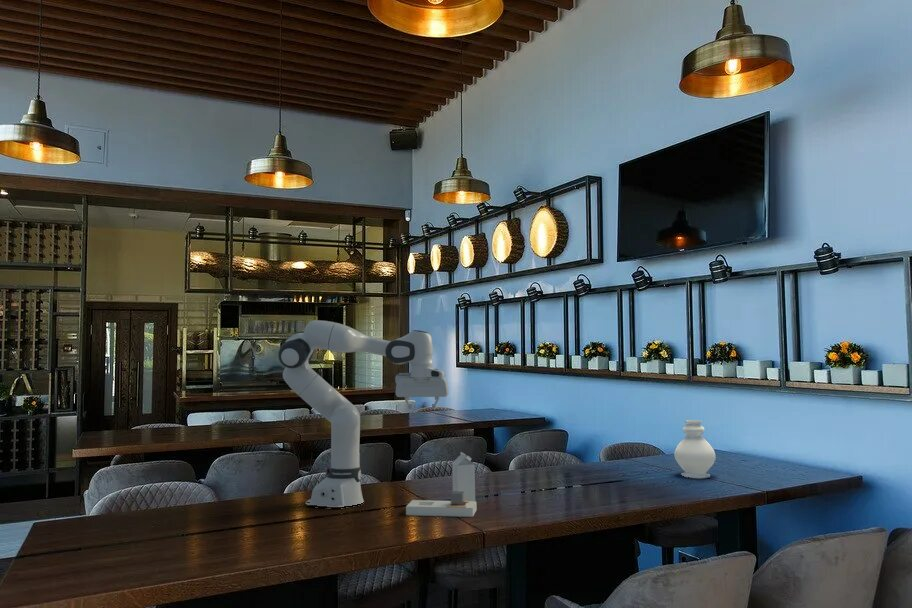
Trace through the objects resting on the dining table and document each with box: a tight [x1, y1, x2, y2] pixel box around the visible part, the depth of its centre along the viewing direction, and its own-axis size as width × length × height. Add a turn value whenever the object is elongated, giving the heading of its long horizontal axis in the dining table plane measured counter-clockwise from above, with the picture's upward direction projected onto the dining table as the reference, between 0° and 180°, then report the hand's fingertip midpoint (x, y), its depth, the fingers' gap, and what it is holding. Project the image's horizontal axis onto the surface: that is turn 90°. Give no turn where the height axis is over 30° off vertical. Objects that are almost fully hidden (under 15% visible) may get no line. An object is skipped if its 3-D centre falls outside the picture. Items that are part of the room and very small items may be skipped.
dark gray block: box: [450, 490, 464, 506], centre depth 237 cm, size 4×4×7 cm
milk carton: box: [451, 451, 476, 501], centre depth 258 cm, size 7×7×19 cm
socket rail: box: [405, 499, 478, 518], centre depth 238 cm, size 24×10×4 cm, turn 81°
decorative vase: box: [673, 419, 717, 479], centre depth 304 cm, size 18×18×25 cm
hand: (422, 408), depth 252 cm, fingers open, 8 cm apart
